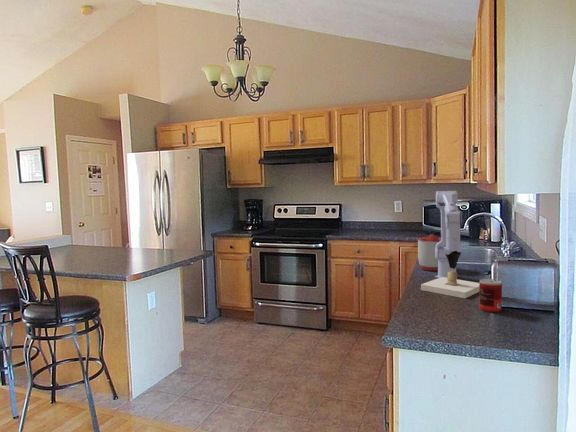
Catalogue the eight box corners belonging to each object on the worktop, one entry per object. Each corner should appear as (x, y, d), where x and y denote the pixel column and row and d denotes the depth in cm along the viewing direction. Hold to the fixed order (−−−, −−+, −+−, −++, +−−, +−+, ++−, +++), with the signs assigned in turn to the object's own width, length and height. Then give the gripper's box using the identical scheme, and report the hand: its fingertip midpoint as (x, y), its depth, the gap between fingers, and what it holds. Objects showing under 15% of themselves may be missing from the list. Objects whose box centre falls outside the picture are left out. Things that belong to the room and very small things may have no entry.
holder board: (441, 281, 196) (441, 276, 196) (484, 289, 182) (484, 283, 182) (420, 289, 183) (420, 284, 183) (465, 298, 168) (465, 292, 168)
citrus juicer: (449, 267, 230) (450, 232, 228) (444, 273, 215) (444, 236, 213) (421, 264, 238) (421, 231, 236) (414, 270, 223) (414, 234, 221)
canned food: (498, 307, 156) (499, 279, 155) (503, 313, 148) (504, 284, 148) (477, 305, 158) (477, 278, 157) (481, 312, 150) (481, 283, 150)
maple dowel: (449, 287, 185) (449, 270, 185) (458, 289, 182) (458, 272, 182) (445, 289, 183) (445, 272, 182) (454, 291, 180) (454, 273, 179)
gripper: (450, 235, 188) (450, 264, 189) (437, 239, 178) (437, 269, 179) (466, 236, 183) (465, 266, 185) (453, 240, 173) (453, 271, 174)
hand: (452, 268), depth 182 cm, fingers closed
